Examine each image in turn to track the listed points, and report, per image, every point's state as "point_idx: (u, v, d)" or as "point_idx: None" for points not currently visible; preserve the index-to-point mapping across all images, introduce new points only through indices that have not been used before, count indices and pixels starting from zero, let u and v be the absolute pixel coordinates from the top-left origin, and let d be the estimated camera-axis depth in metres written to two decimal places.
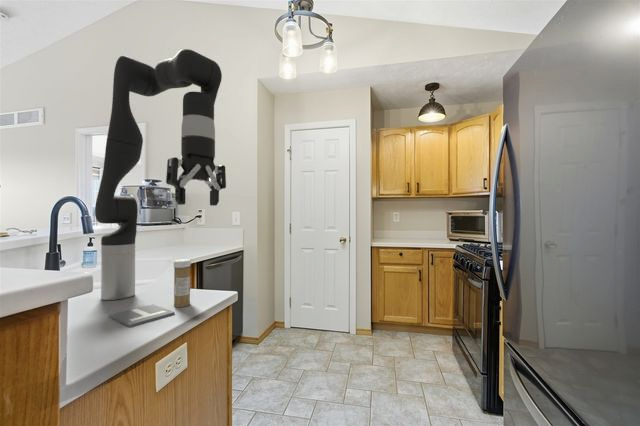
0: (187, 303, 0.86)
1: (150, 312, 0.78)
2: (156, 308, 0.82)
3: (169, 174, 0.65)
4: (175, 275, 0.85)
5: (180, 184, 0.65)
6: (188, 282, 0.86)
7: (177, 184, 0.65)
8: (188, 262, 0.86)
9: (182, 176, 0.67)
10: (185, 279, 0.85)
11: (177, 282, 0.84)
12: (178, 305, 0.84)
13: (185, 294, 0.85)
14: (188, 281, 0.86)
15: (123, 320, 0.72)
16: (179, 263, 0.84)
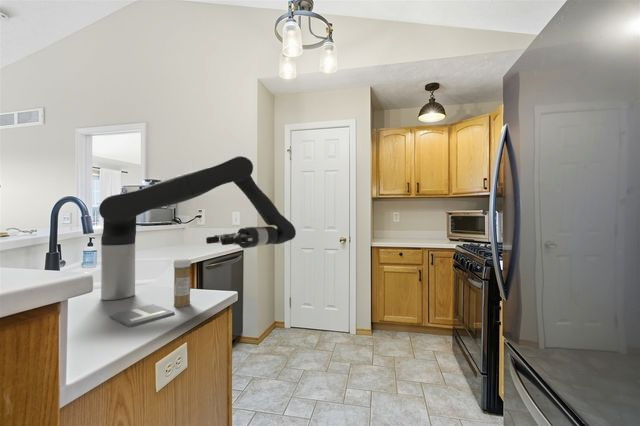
0: (187, 303, 0.86)
1: (150, 312, 0.78)
2: (156, 308, 0.82)
3: (243, 238, 0.96)
4: (175, 275, 0.85)
5: (235, 244, 0.96)
6: (188, 282, 0.86)
7: (236, 242, 0.95)
8: (188, 262, 0.86)
9: None
10: (185, 279, 0.85)
11: (177, 282, 0.84)
12: (178, 305, 0.84)
13: (185, 294, 0.85)
14: (188, 281, 0.86)
15: (123, 320, 0.72)
16: (179, 263, 0.84)
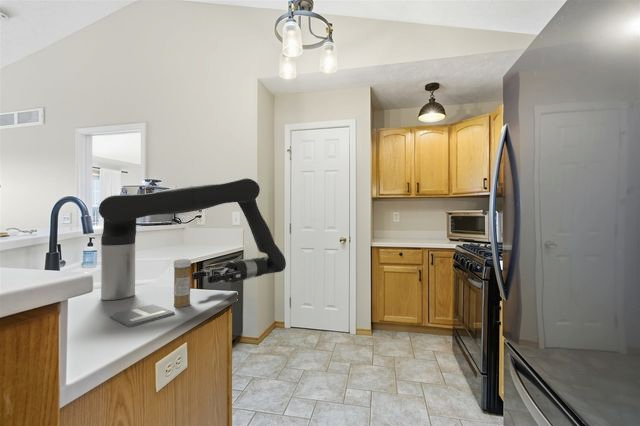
0: (187, 303, 0.86)
1: (150, 312, 0.78)
2: (156, 308, 0.82)
3: (231, 274, 0.93)
4: (175, 275, 0.85)
5: (222, 281, 0.92)
6: (188, 282, 0.86)
7: (223, 280, 0.92)
8: (188, 262, 0.86)
9: None
10: (185, 279, 0.85)
11: (177, 282, 0.84)
12: (178, 305, 0.84)
13: (185, 294, 0.85)
14: (188, 281, 0.86)
15: (123, 320, 0.72)
16: (179, 263, 0.84)
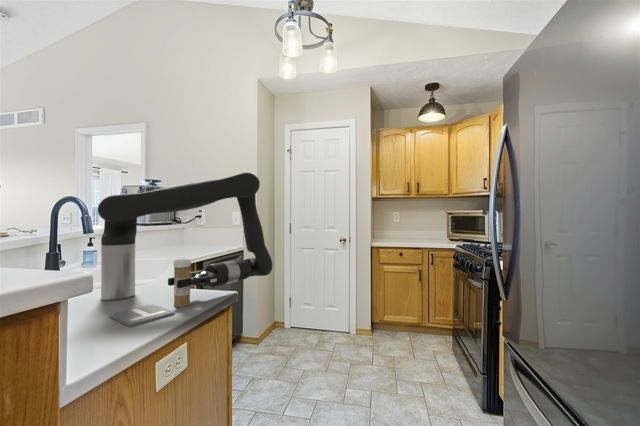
0: (187, 303, 0.86)
1: (150, 312, 0.78)
2: (156, 308, 0.82)
3: (204, 279, 0.86)
4: (175, 275, 0.85)
5: (193, 285, 0.86)
6: None
7: (194, 284, 0.86)
8: (188, 262, 0.86)
9: (199, 279, 0.88)
10: None
11: None
12: (178, 305, 0.84)
13: (185, 294, 0.85)
14: None
15: (123, 320, 0.72)
16: (179, 263, 0.84)
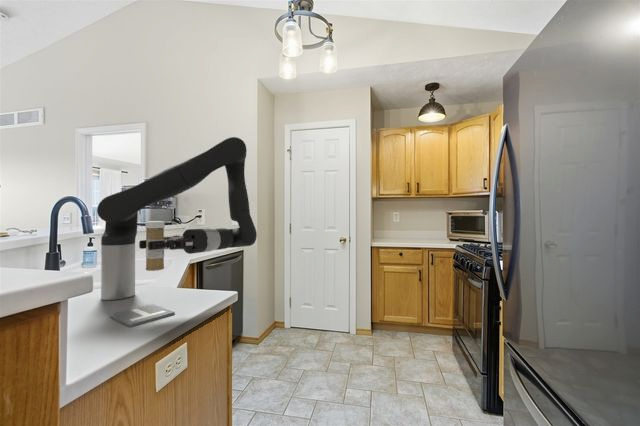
0: (160, 267, 0.79)
1: (150, 312, 0.78)
2: (156, 308, 0.82)
3: (178, 241, 0.80)
4: (147, 237, 0.79)
5: (167, 248, 0.80)
6: None
7: (168, 247, 0.79)
8: (161, 223, 0.80)
9: (174, 243, 0.82)
10: None
11: None
12: (150, 269, 0.78)
13: (158, 258, 0.79)
14: None
15: (123, 320, 0.72)
16: (151, 223, 0.78)
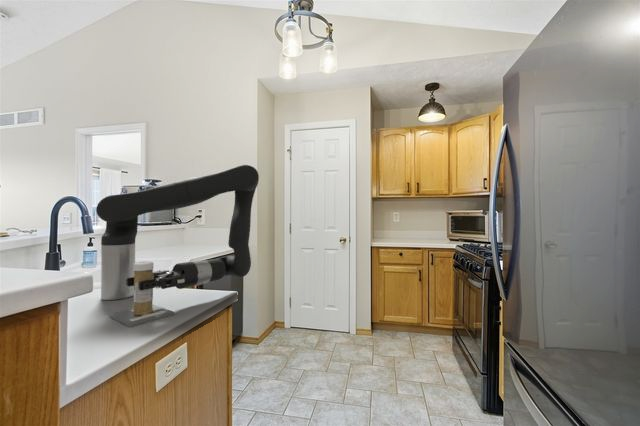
0: (148, 311, 0.77)
1: None
2: (156, 308, 0.82)
3: (170, 280, 0.77)
4: (135, 279, 0.76)
5: (158, 287, 0.77)
6: None
7: None
8: (150, 265, 0.77)
9: None
10: None
11: (137, 287, 0.75)
12: (138, 313, 0.75)
13: (146, 301, 0.76)
14: None
15: (123, 320, 0.72)
16: (139, 265, 0.75)
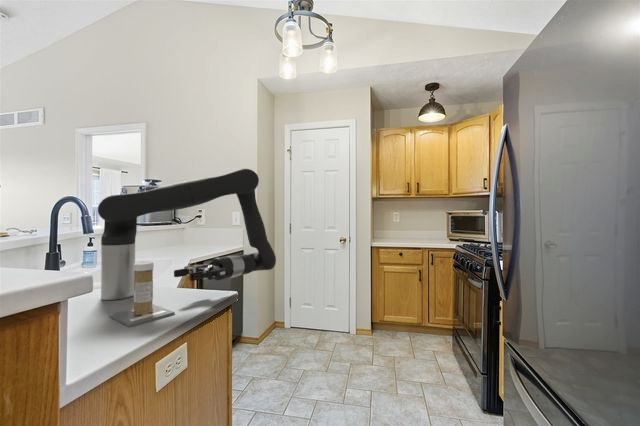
0: (148, 311, 0.77)
1: None
2: (156, 308, 0.82)
3: (215, 272, 0.88)
4: (135, 279, 0.76)
5: (205, 278, 0.87)
6: (150, 287, 0.77)
7: (206, 277, 0.87)
8: (150, 265, 0.77)
9: None
10: (146, 284, 0.76)
11: (137, 287, 0.75)
12: (138, 313, 0.75)
13: (146, 301, 0.76)
14: (149, 286, 0.77)
15: (123, 320, 0.72)
16: (139, 265, 0.75)
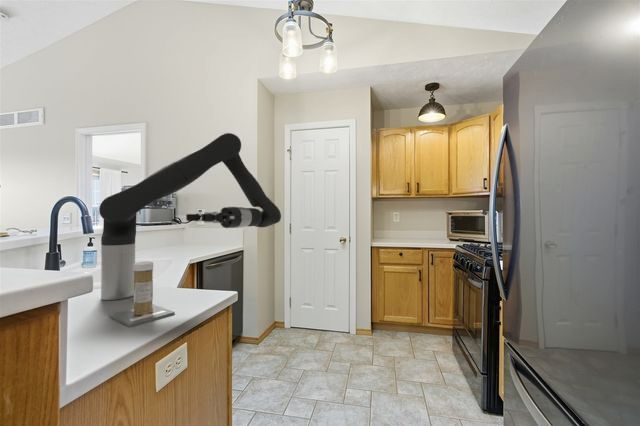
0: (148, 311, 0.77)
1: None
2: (156, 308, 0.82)
3: (225, 215, 0.94)
4: (135, 279, 0.76)
5: (216, 221, 0.93)
6: (150, 287, 0.77)
7: (217, 219, 0.92)
8: (150, 265, 0.77)
9: None
10: (146, 284, 0.76)
11: (136, 287, 0.75)
12: (138, 313, 0.75)
13: (146, 301, 0.76)
14: (149, 286, 0.77)
15: (123, 320, 0.72)
16: (139, 266, 0.75)
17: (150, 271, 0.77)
